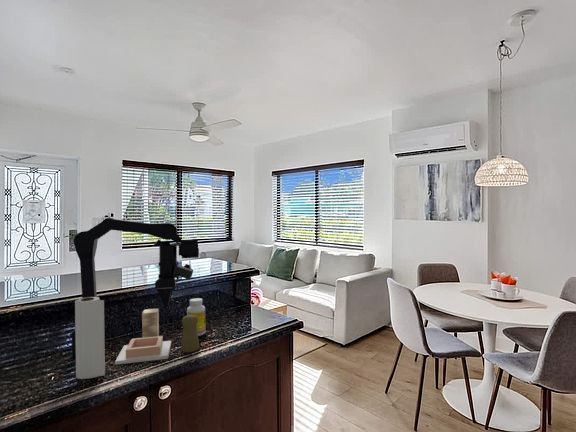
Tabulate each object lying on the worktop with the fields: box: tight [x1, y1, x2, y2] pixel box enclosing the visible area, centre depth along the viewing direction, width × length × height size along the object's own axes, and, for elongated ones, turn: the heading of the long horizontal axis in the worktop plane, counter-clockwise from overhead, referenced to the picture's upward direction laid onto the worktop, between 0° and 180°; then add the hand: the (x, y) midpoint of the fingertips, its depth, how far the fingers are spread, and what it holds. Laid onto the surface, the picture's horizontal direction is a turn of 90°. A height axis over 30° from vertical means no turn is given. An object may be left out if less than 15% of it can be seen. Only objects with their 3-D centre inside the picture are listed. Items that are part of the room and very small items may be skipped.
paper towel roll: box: [74, 296, 106, 380], centre depth 95 cm, size 7×6×21 cm
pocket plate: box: [114, 335, 172, 365], centre depth 110 cm, size 15×13×4 cm
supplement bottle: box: [186, 297, 207, 337], centre depth 128 cm, size 7×7×13 cm
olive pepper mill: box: [180, 314, 200, 353], centre depth 114 cm, size 6×6×11 cm
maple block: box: [141, 308, 160, 338], centre depth 124 cm, size 5×5×10 cm
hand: (167, 303), depth 119 cm, fingers open, 9 cm apart
